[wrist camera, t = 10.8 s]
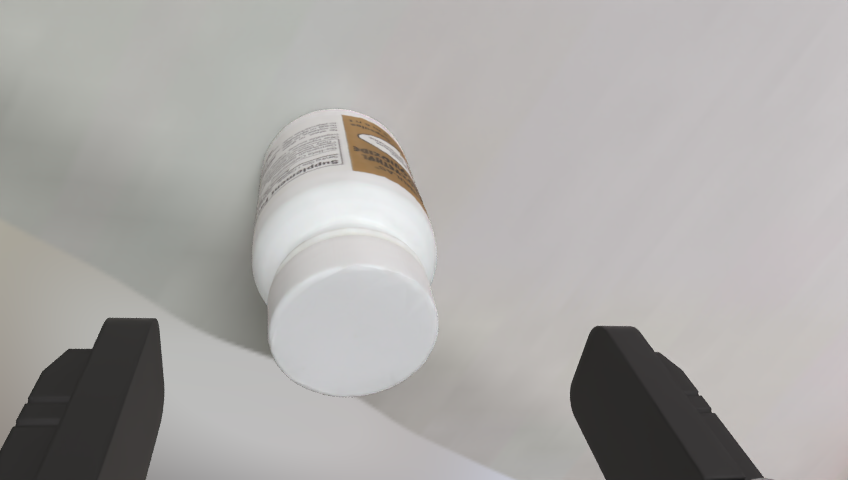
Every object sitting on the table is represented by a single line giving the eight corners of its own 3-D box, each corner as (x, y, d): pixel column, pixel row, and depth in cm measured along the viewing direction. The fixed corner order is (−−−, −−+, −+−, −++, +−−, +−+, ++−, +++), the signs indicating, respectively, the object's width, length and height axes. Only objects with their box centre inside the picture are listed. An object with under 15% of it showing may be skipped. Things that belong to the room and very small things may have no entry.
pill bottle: (429, 195, 19) (494, 357, 13) (311, 256, 20) (317, 443, 13) (364, 77, 17) (405, 202, 11) (232, 149, 17) (192, 311, 11)
